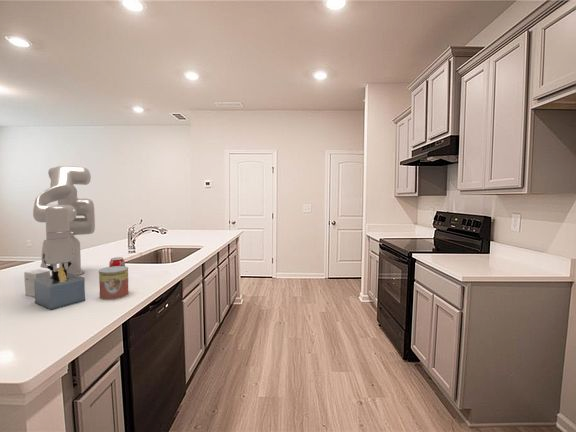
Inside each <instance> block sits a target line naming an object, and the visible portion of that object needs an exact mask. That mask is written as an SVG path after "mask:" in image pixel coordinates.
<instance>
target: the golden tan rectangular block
mask: <svg viewBox="0 0 576 432" xmlns="http://www.w3.org/2000/svg"><path fill="white" fill-rule="evenodd" d="M63 270H64V269H63V267H60V268H59V267H57V271H58V272H59V273H58V281H62V280H67V278H66V275H65V272H64V271H63Z"/></svg>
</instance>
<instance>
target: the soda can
mask: <svg viewBox="0 0 576 432" xmlns="http://www.w3.org/2000/svg"><path fill="white" fill-rule="evenodd" d="M108 265H109V266H108V267H113V266H126V261H125V259H124V257H120V256H119V257H118V256H117V257H112V258H110V261H109V264H108Z"/></svg>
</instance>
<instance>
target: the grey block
mask: <svg viewBox="0 0 576 432" xmlns="http://www.w3.org/2000/svg"><path fill="white" fill-rule="evenodd" d="M66 278H67V280H62V281H57V280H54V279H52V275H50V276H48V277H43V278H38V279H34V289H35V297H34V303H35V304H37V305H39V306H41V307H43V308H45V309H47V310H50V311H53V310H56V309H60V307H61V308H64V307H67V305H68V306H71V305H74V303H75V304H79V303H81V302H85V301H86V295H85V294H86V289H85V286H86V285H85V277H83V276H81V275H78V276H77V275H74V274H71V273H67V276H66ZM70 304H71V305H70ZM63 306H64V307H63Z"/></svg>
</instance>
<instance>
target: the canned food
mask: <svg viewBox="0 0 576 432" xmlns="http://www.w3.org/2000/svg"><path fill="white" fill-rule="evenodd" d="M98 277H99V281H98V282H99V299H101V300H107V301H110V300H118V299H121V298H125V297H127V296H128V295H129V294H130V292H129V267H128V266H126V265H125V266H113V267H109V266H108V267H103V268H100V269H99V270H98Z"/></svg>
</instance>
